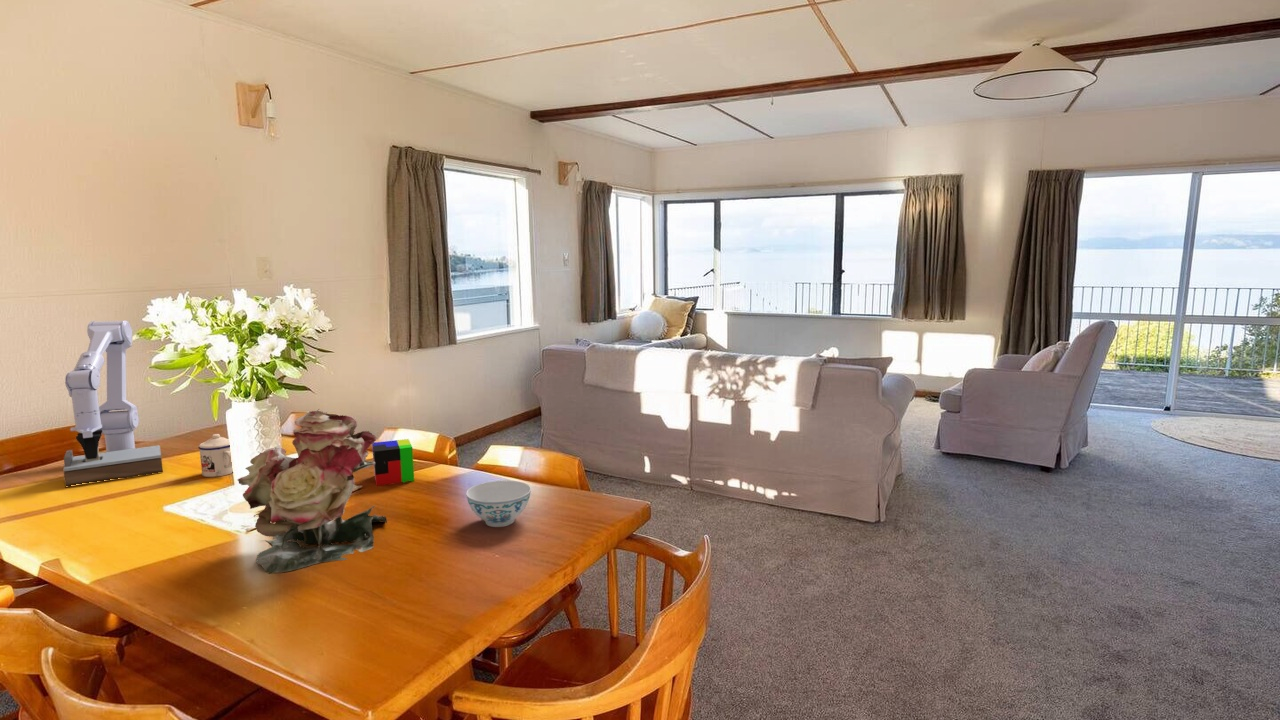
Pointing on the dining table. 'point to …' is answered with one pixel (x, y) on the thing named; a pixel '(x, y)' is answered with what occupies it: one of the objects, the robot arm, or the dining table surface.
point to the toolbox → (113, 471)
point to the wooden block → (93, 459)
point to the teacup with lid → (215, 457)
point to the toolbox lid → (111, 457)
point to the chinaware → (498, 501)
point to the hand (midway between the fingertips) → (92, 457)
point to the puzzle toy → (393, 462)
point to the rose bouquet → (311, 494)
